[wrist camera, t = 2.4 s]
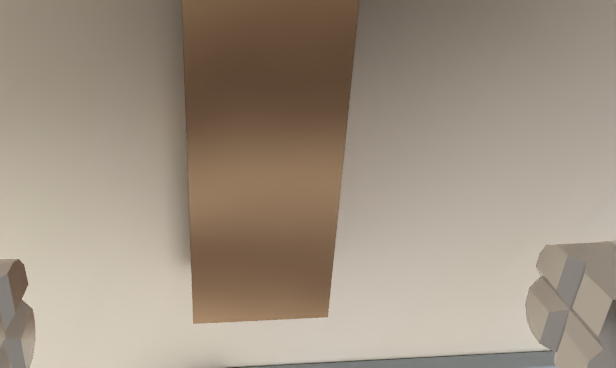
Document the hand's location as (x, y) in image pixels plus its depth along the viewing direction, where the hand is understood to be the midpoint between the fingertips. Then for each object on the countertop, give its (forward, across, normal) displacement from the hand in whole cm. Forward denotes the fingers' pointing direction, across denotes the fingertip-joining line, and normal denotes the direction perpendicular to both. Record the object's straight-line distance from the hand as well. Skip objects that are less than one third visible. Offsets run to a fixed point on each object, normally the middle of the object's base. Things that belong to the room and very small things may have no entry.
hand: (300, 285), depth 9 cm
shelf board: (+13, 0, 0) cm, 13 cm away
